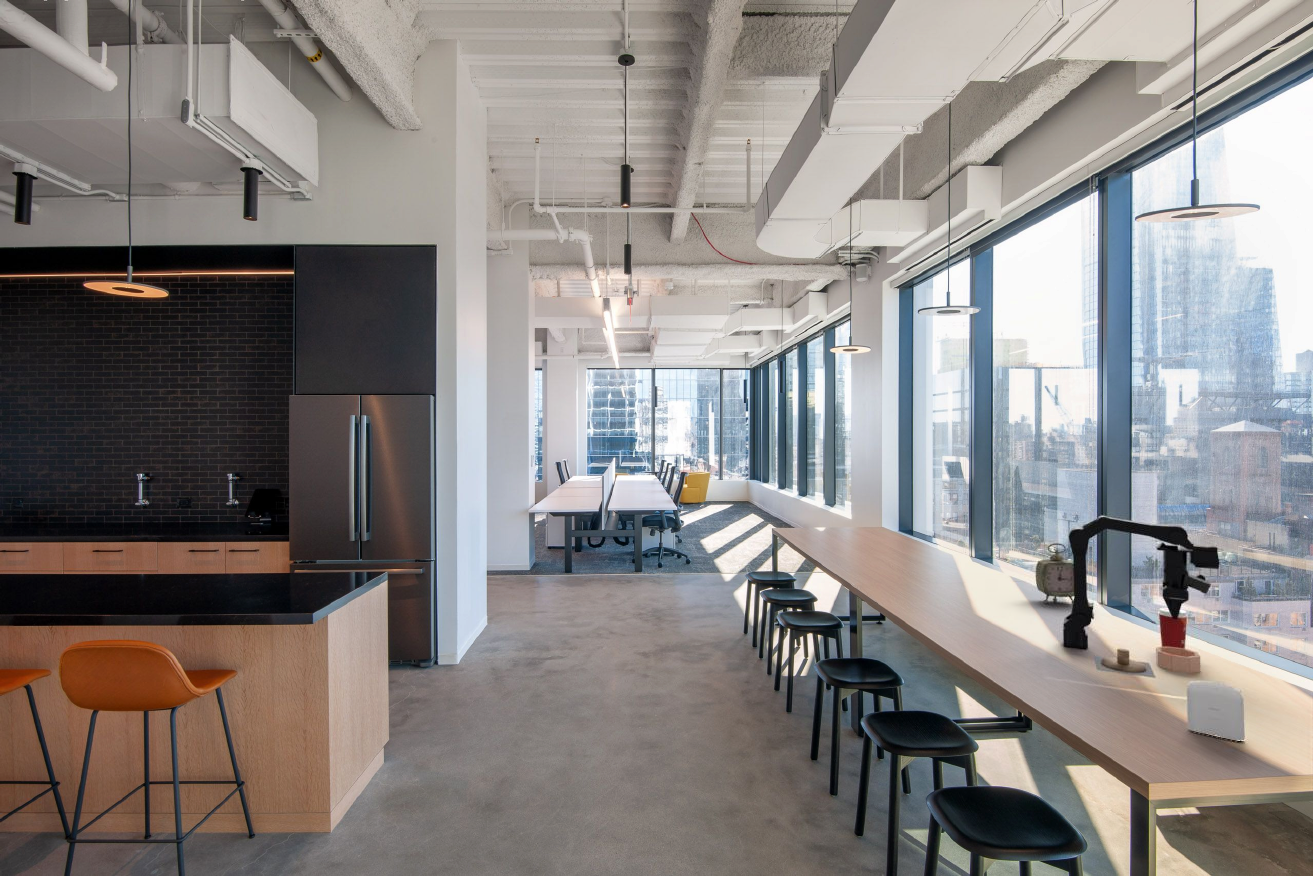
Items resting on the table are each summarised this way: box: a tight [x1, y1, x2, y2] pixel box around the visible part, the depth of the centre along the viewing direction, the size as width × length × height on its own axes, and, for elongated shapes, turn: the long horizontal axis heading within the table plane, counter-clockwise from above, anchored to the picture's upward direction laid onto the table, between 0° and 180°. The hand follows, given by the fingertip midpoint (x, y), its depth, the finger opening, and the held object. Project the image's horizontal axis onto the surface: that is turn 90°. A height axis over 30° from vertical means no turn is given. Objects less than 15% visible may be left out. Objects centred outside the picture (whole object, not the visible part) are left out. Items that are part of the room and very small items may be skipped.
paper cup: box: [1157, 607, 1189, 649], centre depth 213 cm, size 8×8×14 cm
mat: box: [1094, 655, 1156, 678], centre depth 200 cm, size 14×14×1 cm
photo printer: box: [1186, 680, 1246, 741], centre depth 155 cm, size 10×4×12 cm, turn 47°
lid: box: [1101, 648, 1146, 672], centre depth 200 cm, size 11×11×5 cm
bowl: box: [1155, 646, 1201, 674], centre depth 199 cm, size 10×10×5 cm
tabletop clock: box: [1035, 542, 1074, 605], centre depth 279 cm, size 14×9×25 cm, turn 81°
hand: (1174, 616), depth 205 cm, fingers open, 9 cm apart
